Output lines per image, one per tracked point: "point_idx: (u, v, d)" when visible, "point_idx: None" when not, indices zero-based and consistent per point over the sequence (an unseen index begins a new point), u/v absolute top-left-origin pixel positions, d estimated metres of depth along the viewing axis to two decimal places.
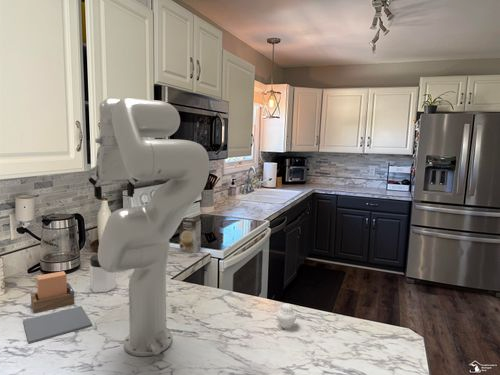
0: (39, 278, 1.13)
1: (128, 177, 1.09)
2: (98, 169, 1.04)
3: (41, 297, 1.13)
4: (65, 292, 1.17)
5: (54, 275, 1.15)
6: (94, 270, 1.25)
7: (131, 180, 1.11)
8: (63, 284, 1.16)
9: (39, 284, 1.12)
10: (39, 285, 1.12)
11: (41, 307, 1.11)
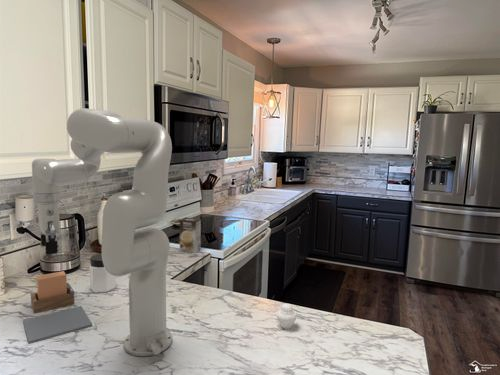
0: (39, 278, 1.13)
1: None
2: (55, 224, 1.10)
3: (41, 297, 1.13)
4: (65, 292, 1.17)
5: (54, 275, 1.15)
6: (94, 270, 1.25)
7: None
8: (63, 284, 1.16)
9: (39, 284, 1.12)
10: (39, 285, 1.12)
11: (41, 307, 1.11)
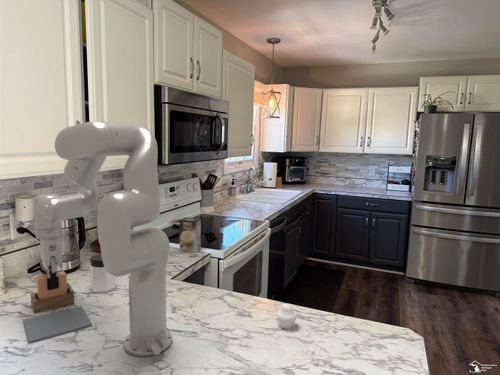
0: (39, 278, 1.13)
1: None
2: (57, 259, 1.11)
3: (41, 296, 1.13)
4: (65, 292, 1.17)
5: None
6: (94, 270, 1.25)
7: None
8: (64, 284, 1.16)
9: (39, 284, 1.12)
10: (39, 285, 1.12)
11: (41, 307, 1.11)
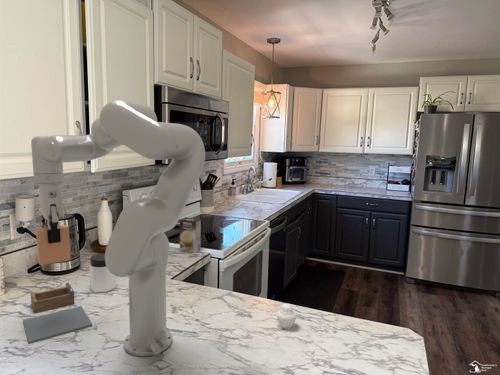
0: (39, 230, 1.01)
1: None
2: (58, 208, 1.00)
3: (41, 250, 1.01)
4: (68, 247, 1.05)
5: None
6: (94, 270, 1.25)
7: None
8: (66, 238, 1.04)
9: (39, 236, 1.00)
10: (39, 237, 1.00)
11: (41, 307, 1.11)
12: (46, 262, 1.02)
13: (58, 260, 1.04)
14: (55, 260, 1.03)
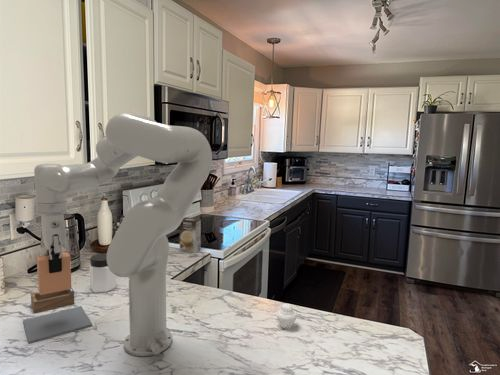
0: (40, 259, 0.99)
1: None
2: (61, 238, 0.98)
3: (41, 280, 0.99)
4: (69, 276, 1.03)
5: None
6: (94, 270, 1.25)
7: None
8: (67, 267, 1.03)
9: (40, 266, 0.98)
10: (40, 267, 0.98)
11: (41, 307, 1.11)
12: (46, 292, 1.00)
13: (59, 289, 1.02)
14: (56, 289, 1.01)
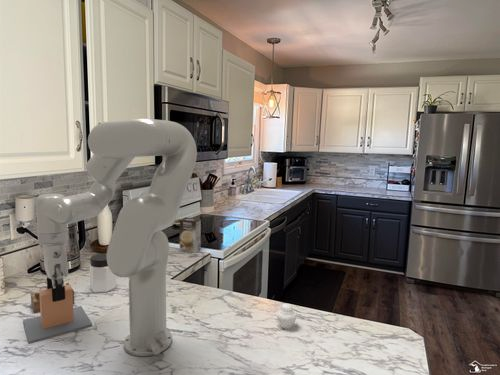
0: (42, 293, 1.00)
1: None
2: (62, 267, 0.99)
3: (44, 314, 1.00)
4: (71, 308, 1.04)
5: None
6: (94, 270, 1.25)
7: None
8: (69, 299, 1.04)
9: (42, 300, 0.99)
10: (42, 301, 0.99)
11: None
12: (49, 325, 1.01)
13: (61, 322, 1.03)
14: (58, 322, 1.03)
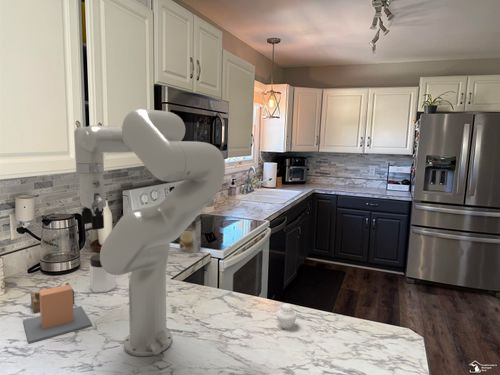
0: (42, 293, 1.00)
1: None
2: (101, 197, 1.02)
3: (44, 314, 1.00)
4: (71, 308, 1.04)
5: (58, 290, 1.03)
6: (94, 270, 1.25)
7: None
8: (69, 299, 1.04)
9: (42, 300, 0.99)
10: (42, 301, 0.99)
11: None
12: (49, 325, 1.01)
13: (61, 322, 1.03)
14: (58, 322, 1.03)
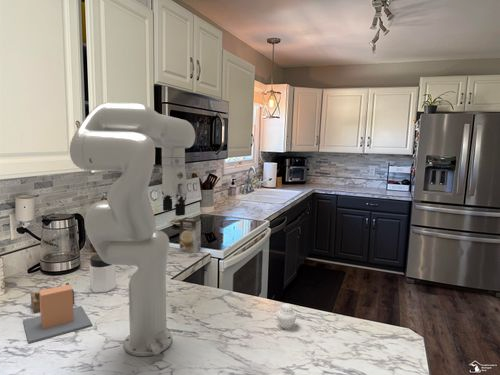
0: (42, 293, 1.00)
1: None
2: (183, 187, 1.16)
3: (44, 314, 1.00)
4: (71, 308, 1.04)
5: (58, 290, 1.03)
6: (94, 270, 1.25)
7: None
8: (69, 299, 1.04)
9: (42, 300, 0.99)
10: (42, 301, 0.99)
11: None
12: (49, 325, 1.01)
13: (61, 322, 1.03)
14: (58, 322, 1.03)
